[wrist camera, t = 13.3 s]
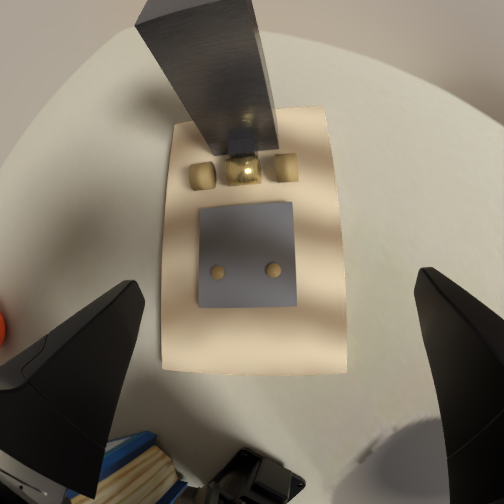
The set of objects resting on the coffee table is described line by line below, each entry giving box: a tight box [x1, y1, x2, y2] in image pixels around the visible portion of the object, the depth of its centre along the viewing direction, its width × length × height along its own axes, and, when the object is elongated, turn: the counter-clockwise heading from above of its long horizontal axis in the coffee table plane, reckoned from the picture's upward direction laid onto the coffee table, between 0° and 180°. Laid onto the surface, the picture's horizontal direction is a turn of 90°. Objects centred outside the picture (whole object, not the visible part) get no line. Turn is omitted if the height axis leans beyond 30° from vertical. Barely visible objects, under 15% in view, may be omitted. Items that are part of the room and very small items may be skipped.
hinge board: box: [161, 106, 347, 376], centre depth 22 cm, size 22×14×3 cm, turn 1°
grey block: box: [135, 0, 279, 186], centre depth 17 cm, size 6×6×14 cm
